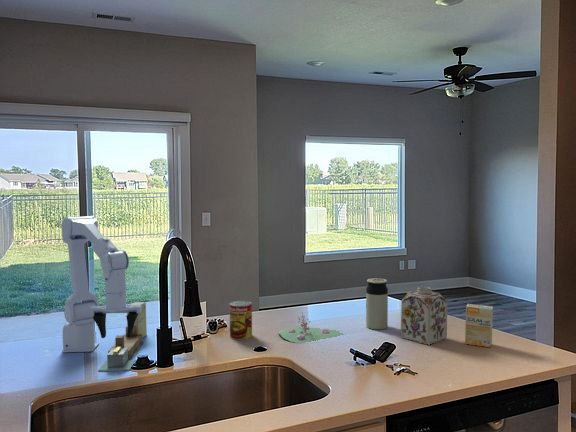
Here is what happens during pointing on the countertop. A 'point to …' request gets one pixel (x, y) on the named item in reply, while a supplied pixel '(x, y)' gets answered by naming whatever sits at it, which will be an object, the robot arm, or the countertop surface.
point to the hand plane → (129, 342)
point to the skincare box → (141, 319)
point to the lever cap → (117, 357)
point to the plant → (307, 333)
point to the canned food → (240, 320)
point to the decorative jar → (424, 316)
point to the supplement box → (479, 325)
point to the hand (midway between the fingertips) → (116, 337)
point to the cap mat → (125, 368)
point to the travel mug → (377, 304)
